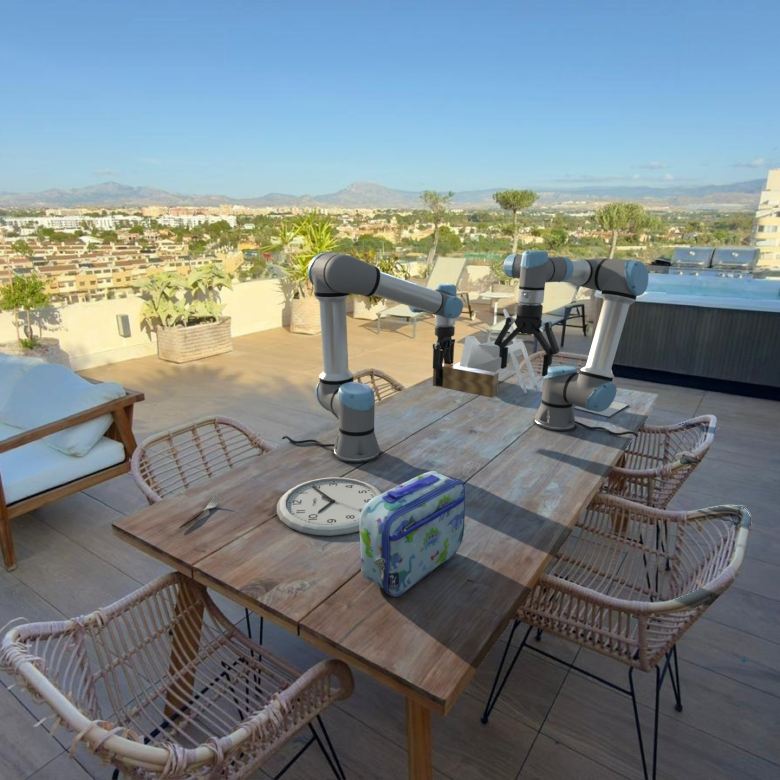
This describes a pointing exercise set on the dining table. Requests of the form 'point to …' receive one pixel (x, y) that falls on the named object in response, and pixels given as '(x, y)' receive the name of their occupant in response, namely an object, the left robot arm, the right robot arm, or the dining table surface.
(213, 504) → the fork
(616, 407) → the invitation card
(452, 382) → the bar
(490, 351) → the white plastic object
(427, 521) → the lunch box
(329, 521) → the wall clock
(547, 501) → the dining table surface
